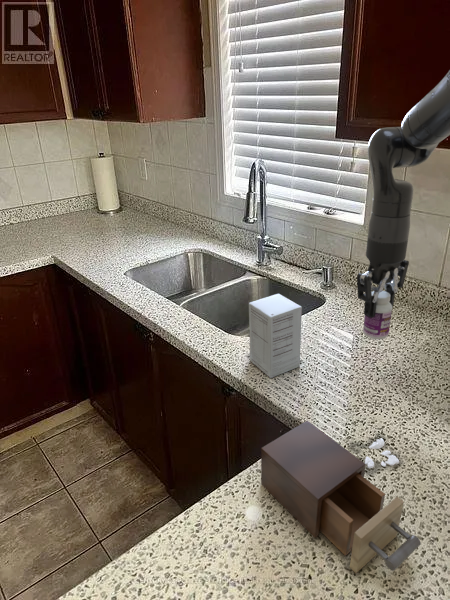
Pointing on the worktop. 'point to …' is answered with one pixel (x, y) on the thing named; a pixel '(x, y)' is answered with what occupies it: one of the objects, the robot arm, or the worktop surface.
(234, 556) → the worktop surface
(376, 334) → the pill bottle
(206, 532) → the worktop surface
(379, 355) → the worktop surface
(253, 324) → the supplement box
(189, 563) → the worktop surface
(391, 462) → the white lumpy pieces
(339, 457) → the cabinet
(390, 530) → the drawer
